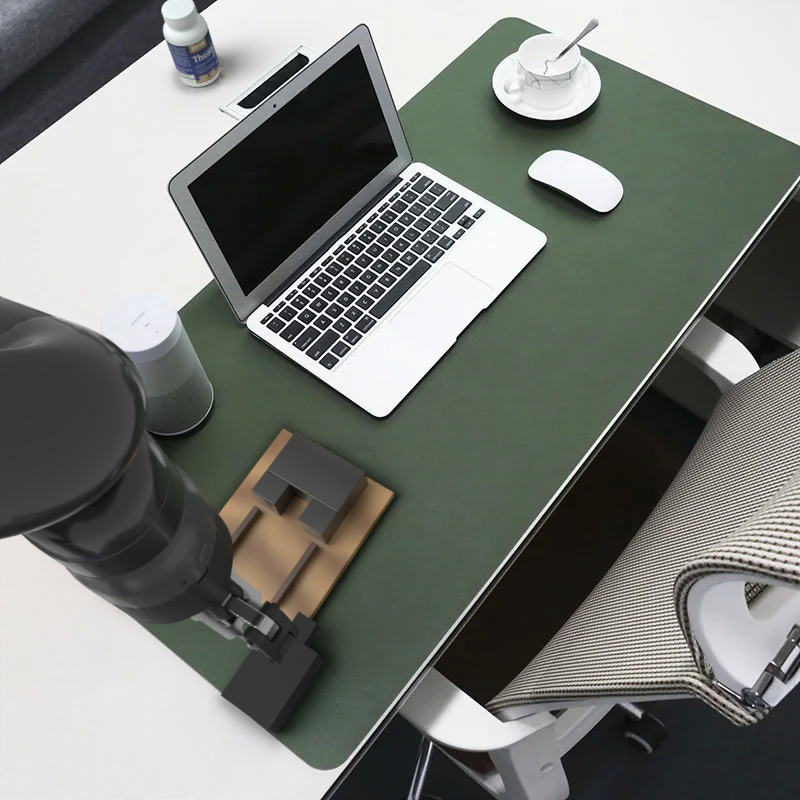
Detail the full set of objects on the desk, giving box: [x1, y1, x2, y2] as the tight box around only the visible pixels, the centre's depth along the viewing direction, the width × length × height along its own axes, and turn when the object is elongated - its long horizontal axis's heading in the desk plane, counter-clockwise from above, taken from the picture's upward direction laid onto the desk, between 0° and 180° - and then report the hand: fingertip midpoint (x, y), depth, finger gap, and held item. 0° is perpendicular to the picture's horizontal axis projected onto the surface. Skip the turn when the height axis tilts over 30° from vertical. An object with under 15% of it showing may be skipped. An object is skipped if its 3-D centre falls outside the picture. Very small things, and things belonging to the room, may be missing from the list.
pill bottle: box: [161, 0, 221, 88], centre depth 103 cm, size 5×5×10 cm
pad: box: [220, 612, 325, 735], centre depth 71 cm, size 9×5×4 cm, turn 147°
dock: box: [218, 428, 395, 621], centre depth 77 cm, size 15×13×4 cm
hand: (221, 607), depth 59 cm, fingers open, 8 cm apart
